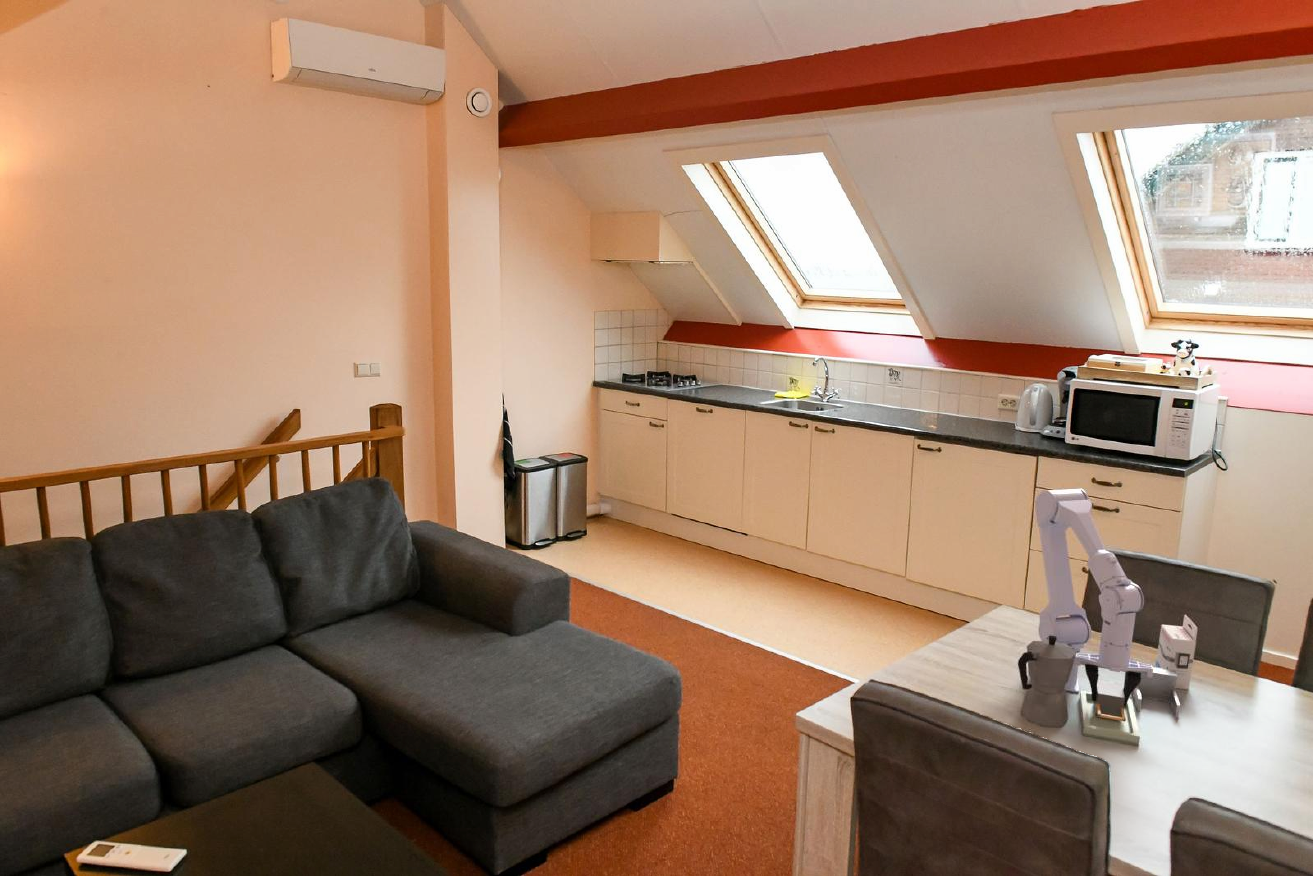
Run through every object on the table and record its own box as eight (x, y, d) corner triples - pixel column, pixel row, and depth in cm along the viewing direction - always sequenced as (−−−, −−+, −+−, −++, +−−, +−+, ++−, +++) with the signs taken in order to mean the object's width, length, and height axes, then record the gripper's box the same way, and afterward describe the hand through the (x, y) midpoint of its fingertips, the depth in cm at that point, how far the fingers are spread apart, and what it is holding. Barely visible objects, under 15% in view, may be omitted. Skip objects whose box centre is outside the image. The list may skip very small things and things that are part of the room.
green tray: (1083, 735, 187) (1084, 726, 187) (1079, 698, 202) (1080, 690, 202) (1138, 746, 183) (1140, 736, 183) (1130, 707, 199) (1131, 699, 198)
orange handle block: (1096, 727, 188) (1099, 704, 187) (1093, 700, 199) (1096, 679, 198) (1124, 732, 186) (1127, 709, 185) (1119, 705, 197) (1122, 683, 196)
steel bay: (1136, 711, 197) (1139, 685, 196) (1131, 689, 207) (1134, 664, 206) (1179, 719, 194) (1182, 692, 193) (1171, 696, 204) (1175, 670, 203)
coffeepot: (1048, 700, 201) (1057, 622, 198) (1085, 720, 193) (1094, 639, 189) (995, 715, 195) (1003, 634, 191) (1031, 736, 186) (1040, 652, 183)
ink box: (1153, 671, 217) (1162, 611, 214) (1176, 673, 216) (1185, 613, 213) (1165, 687, 209) (1174, 625, 206) (1189, 690, 208) (1198, 628, 205)
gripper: (1078, 642, 191) (1071, 703, 193) (1158, 654, 186) (1149, 717, 188) (1077, 629, 197) (1070, 689, 200) (1153, 641, 192) (1145, 702, 195)
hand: (1108, 701), depth 195 cm, fingers open, 5 cm apart
